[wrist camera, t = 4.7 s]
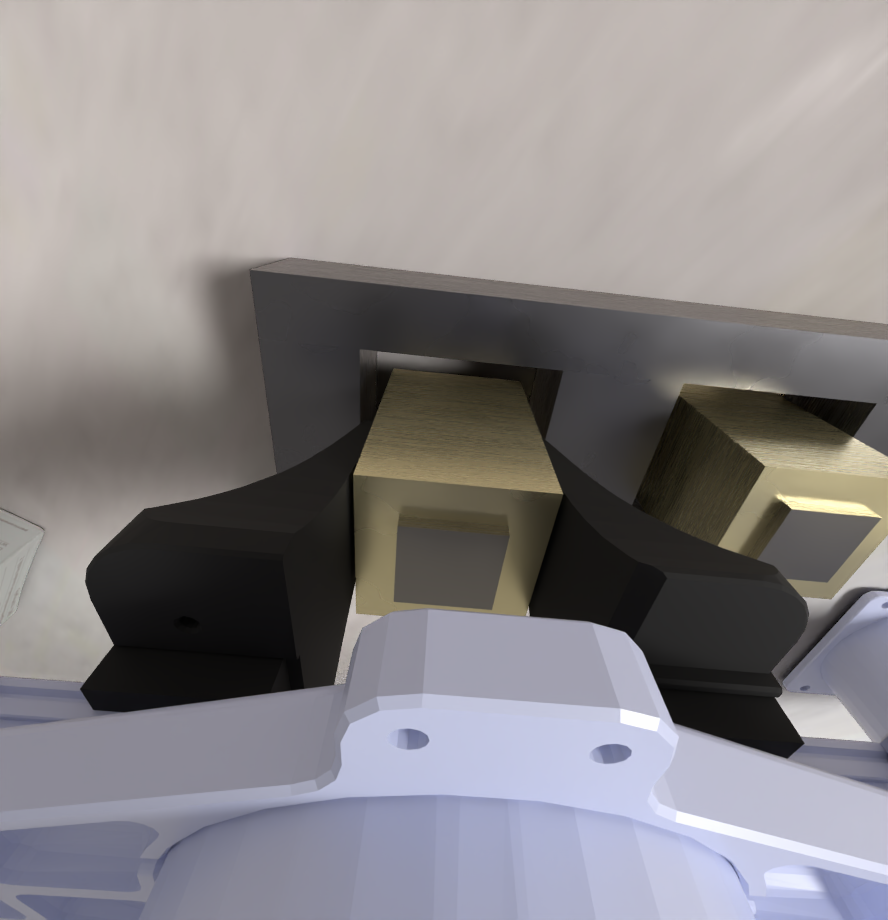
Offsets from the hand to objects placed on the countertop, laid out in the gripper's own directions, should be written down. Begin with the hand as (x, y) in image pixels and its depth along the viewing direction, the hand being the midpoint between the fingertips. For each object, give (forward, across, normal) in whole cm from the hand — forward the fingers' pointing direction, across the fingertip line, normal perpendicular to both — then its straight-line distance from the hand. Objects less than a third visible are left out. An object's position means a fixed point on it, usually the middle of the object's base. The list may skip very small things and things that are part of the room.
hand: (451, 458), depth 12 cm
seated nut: (+4, -9, 0) cm, 10 cm away
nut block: (+2, 0, 0) cm, 2 cm away
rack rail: (+4, -4, 0) cm, 6 cm away
